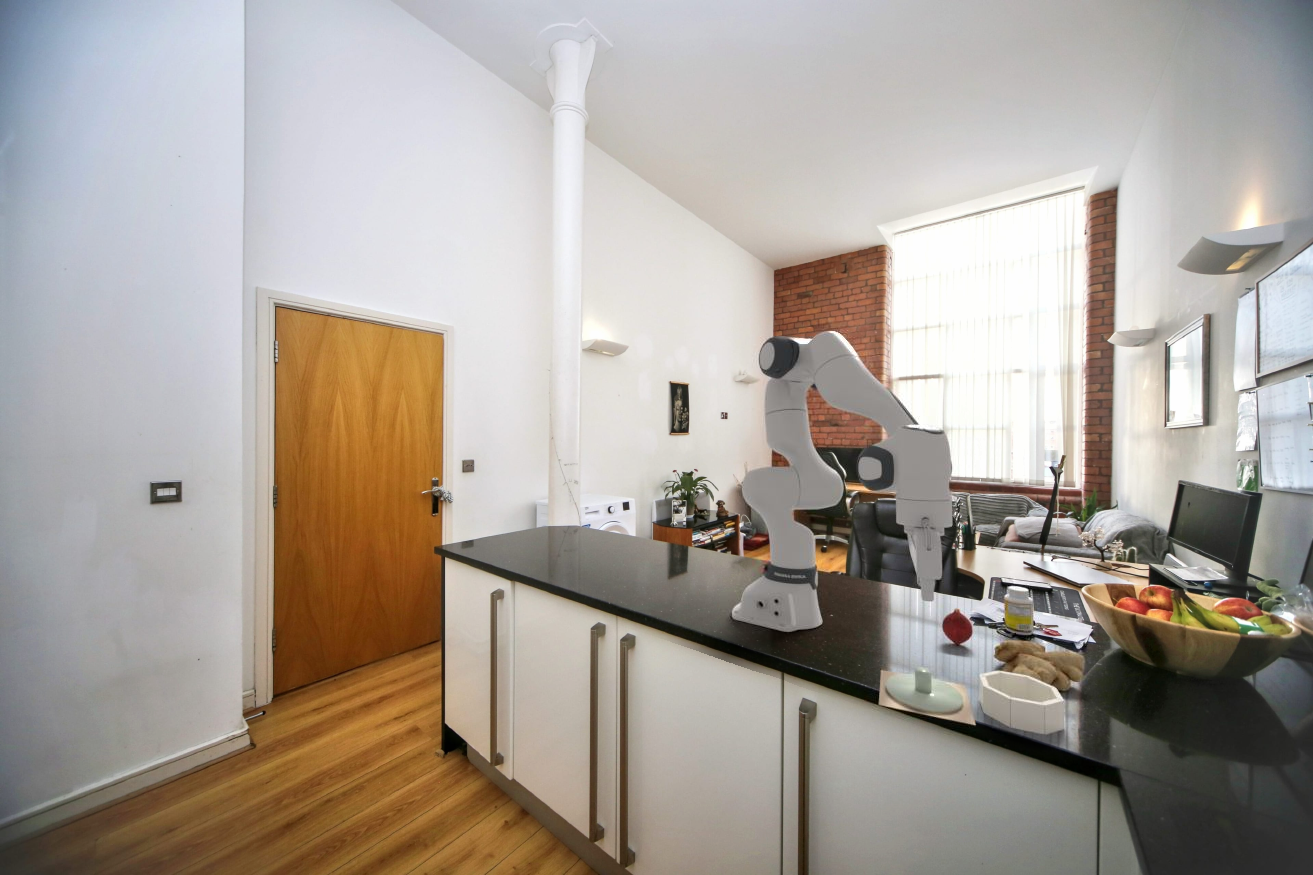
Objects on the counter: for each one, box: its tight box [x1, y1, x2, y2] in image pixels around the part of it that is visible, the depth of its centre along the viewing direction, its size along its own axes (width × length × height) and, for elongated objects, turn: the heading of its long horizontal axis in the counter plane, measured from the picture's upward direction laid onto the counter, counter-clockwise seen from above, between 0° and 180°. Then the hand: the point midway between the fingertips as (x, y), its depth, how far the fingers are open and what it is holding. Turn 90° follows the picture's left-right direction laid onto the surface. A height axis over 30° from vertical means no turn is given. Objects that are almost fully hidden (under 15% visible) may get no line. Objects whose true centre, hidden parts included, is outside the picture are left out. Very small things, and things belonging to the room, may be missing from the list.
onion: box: [941, 607, 973, 646], centre depth 110 cm, size 6×6×8 cm
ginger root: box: [993, 639, 1086, 692], centre depth 94 cm, size 16×16×8 cm
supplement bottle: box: [1003, 585, 1034, 636], centre depth 117 cm, size 6×6×10 cm
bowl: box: [979, 670, 1065, 735], centre depth 81 cm, size 11×11×5 cm
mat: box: [878, 669, 977, 726], centre depth 87 cm, size 14×14×1 cm
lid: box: [886, 666, 963, 713], centre depth 87 cm, size 12×12×4 cm
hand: (925, 592), depth 88 cm, fingers open, 8 cm apart
